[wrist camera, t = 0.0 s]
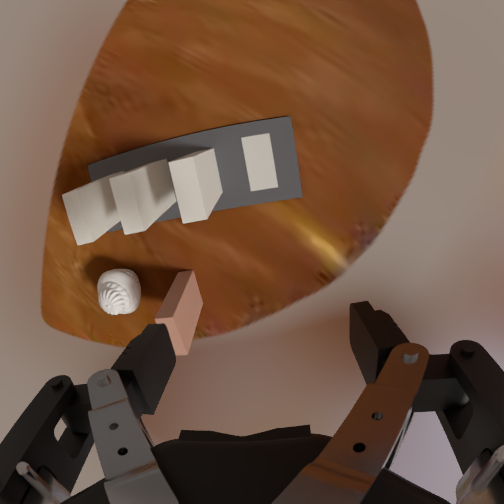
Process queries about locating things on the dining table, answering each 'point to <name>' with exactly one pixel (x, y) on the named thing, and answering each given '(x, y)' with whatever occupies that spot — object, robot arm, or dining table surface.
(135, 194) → the ivory domino
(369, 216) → the dining table surface
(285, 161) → the domino mat
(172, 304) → the terracotta domino
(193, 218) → the ivory domino
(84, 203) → the ivory domino
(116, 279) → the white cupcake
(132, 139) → the dining table surface
